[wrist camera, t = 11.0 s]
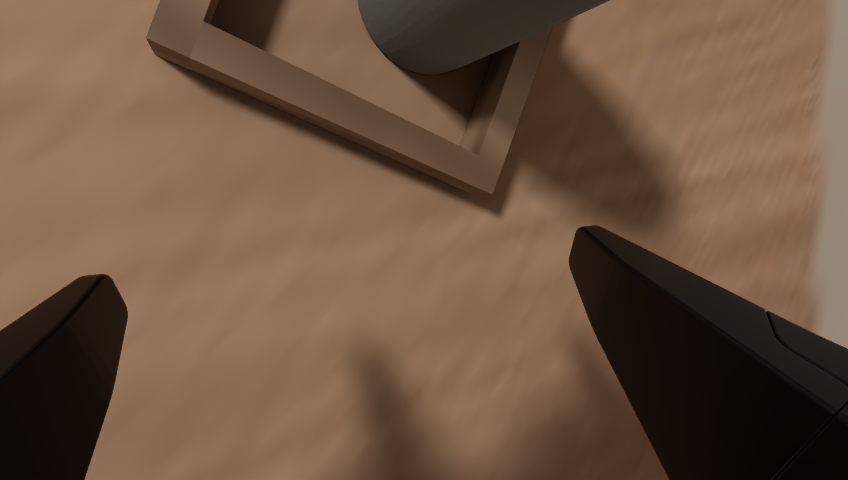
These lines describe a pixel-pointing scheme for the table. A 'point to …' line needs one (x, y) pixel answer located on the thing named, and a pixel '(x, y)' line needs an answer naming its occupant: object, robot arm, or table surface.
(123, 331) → the robot arm
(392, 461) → the table surface
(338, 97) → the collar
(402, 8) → the bottle
